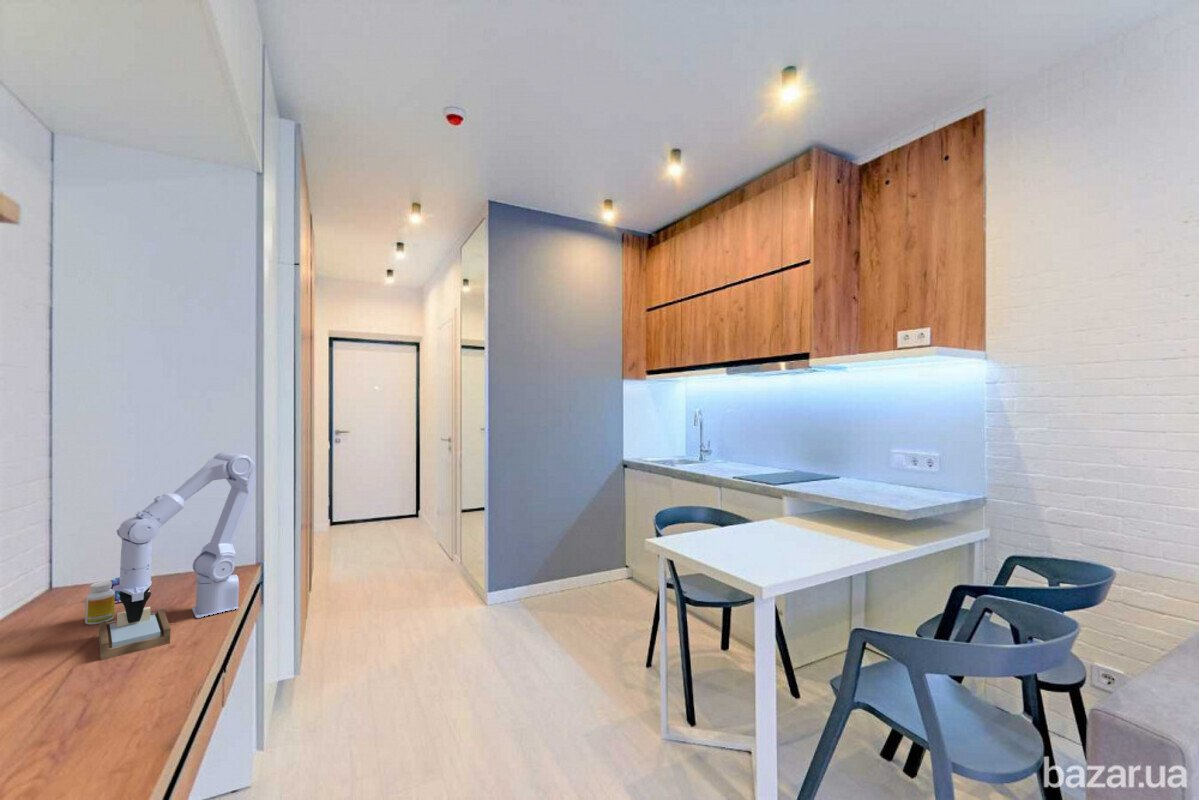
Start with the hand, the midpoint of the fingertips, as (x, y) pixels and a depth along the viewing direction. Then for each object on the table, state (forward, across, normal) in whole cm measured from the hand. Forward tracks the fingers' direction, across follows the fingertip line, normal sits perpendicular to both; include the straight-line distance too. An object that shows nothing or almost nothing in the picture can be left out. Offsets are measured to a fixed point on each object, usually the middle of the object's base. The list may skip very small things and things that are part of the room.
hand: (133, 620), depth 125 cm
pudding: (+4, -31, 0) cm, 31 cm away
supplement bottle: (+4, -15, -6) cm, 16 cm away
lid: (+2, +4, 0) cm, 4 cm away
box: (+4, +3, 0) cm, 5 cm away
